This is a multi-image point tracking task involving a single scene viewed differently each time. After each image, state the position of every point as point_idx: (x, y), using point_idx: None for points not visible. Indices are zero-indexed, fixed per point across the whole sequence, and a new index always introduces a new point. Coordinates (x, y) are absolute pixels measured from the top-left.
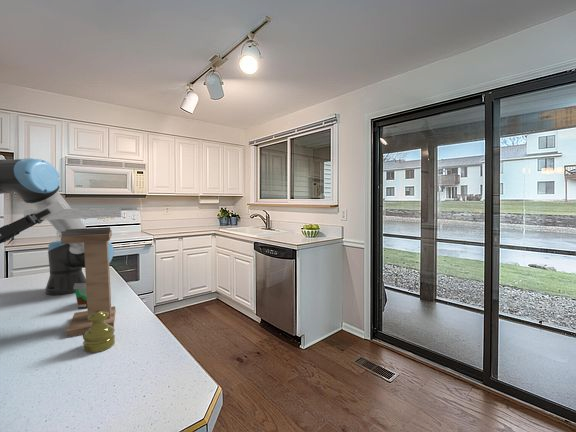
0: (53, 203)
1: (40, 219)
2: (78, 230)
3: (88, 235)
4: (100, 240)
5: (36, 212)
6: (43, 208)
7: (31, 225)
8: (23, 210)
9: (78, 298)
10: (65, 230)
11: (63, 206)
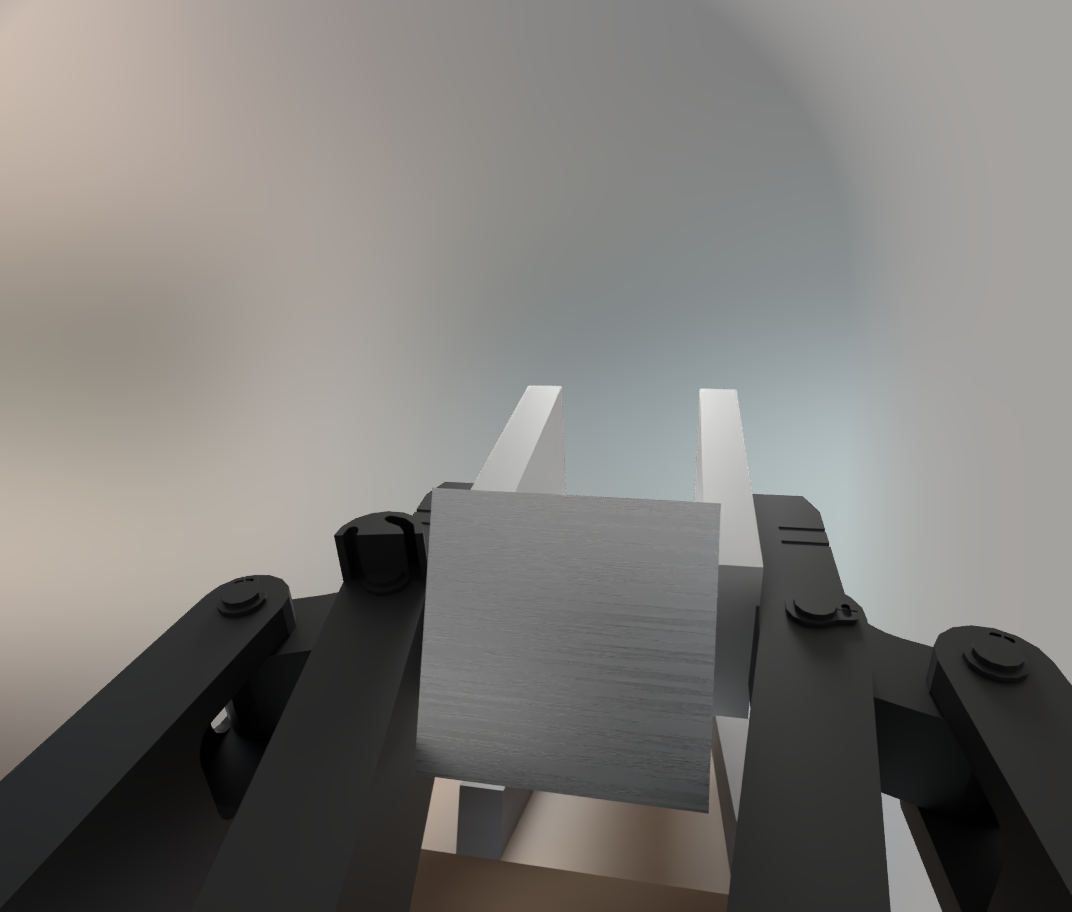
0: (737, 416)
1: (749, 701)
2: (738, 756)
3: None
4: None
5: (759, 564)
6: (750, 486)
7: (406, 902)
8: (714, 519)
9: None
10: (503, 801)
11: (561, 465)
